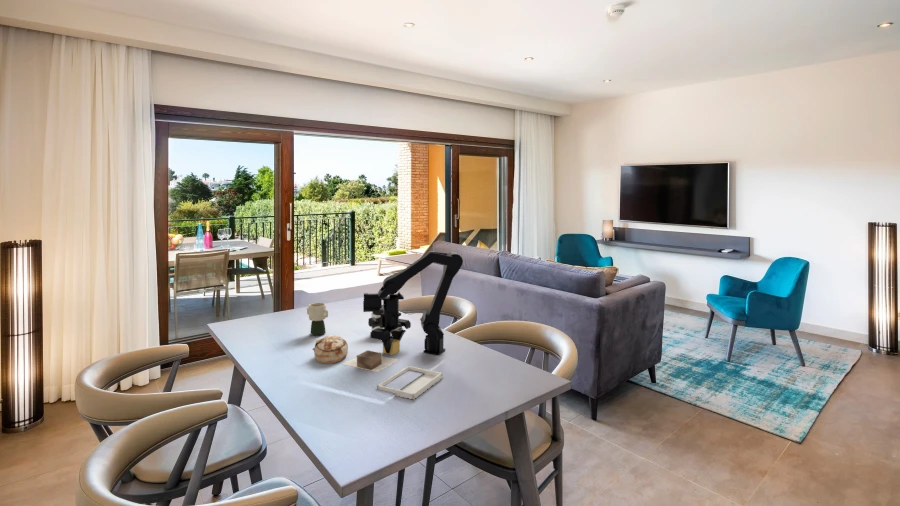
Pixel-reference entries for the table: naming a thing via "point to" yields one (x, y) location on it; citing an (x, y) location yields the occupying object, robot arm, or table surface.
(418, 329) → the table surface
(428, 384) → the cream rectangular tray
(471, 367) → the table surface
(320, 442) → the table surface
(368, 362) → the walnut brick
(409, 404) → the table surface
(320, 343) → the trinket box
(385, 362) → the building board
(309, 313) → the character mug
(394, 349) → the ochre brick
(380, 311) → the jar
